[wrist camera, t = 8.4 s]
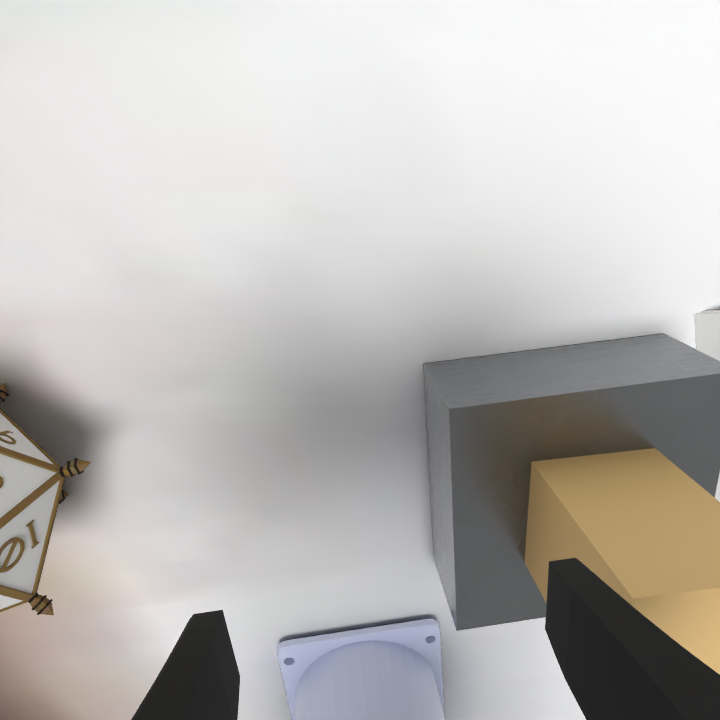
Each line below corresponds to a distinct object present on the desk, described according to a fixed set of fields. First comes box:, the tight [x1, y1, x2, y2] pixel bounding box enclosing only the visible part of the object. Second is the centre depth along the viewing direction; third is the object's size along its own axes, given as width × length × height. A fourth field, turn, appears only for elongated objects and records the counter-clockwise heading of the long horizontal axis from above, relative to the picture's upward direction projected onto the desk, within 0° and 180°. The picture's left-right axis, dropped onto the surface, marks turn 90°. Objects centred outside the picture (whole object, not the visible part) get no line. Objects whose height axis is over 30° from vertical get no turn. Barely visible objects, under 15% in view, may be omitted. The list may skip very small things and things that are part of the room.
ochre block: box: [525, 448, 720, 674], centre depth 16 cm, size 4×4×6 cm
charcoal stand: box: [424, 334, 720, 631], centre depth 21 cm, size 10×10×4 cm
